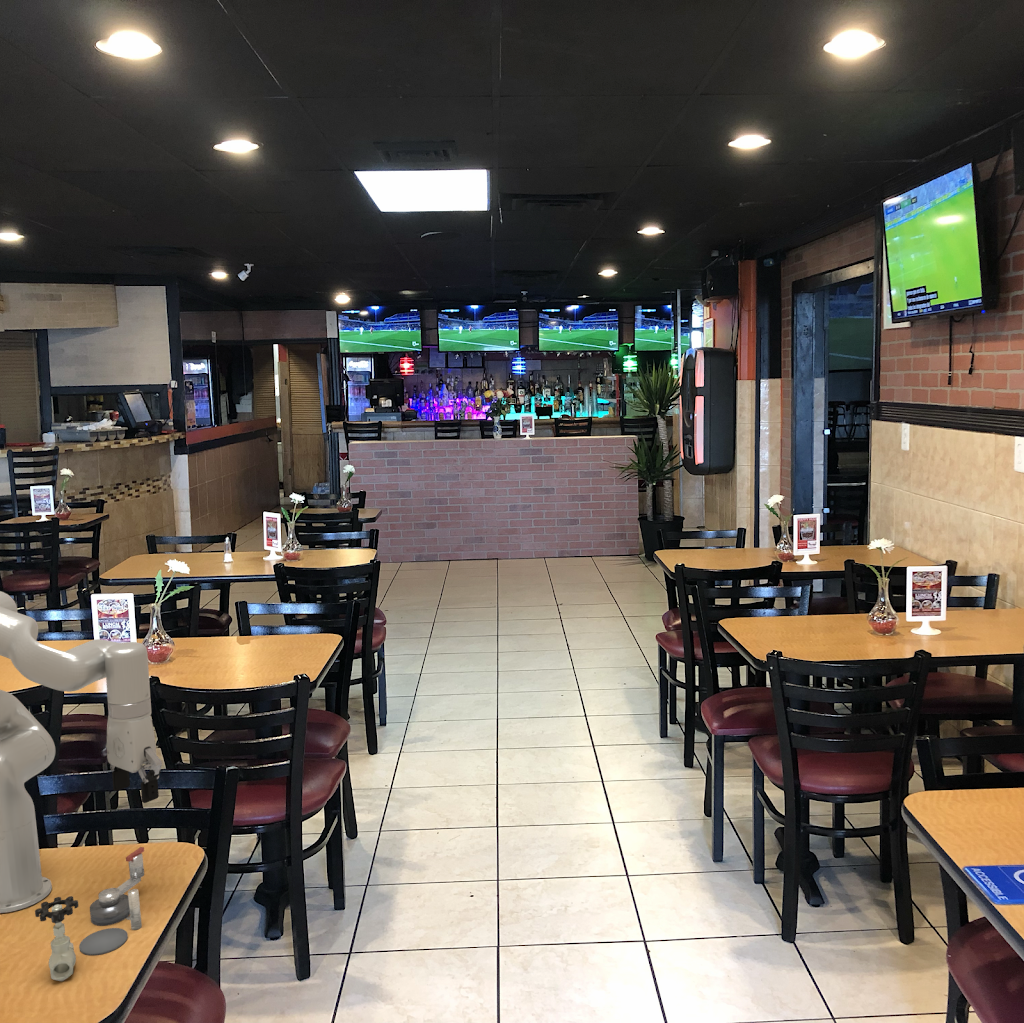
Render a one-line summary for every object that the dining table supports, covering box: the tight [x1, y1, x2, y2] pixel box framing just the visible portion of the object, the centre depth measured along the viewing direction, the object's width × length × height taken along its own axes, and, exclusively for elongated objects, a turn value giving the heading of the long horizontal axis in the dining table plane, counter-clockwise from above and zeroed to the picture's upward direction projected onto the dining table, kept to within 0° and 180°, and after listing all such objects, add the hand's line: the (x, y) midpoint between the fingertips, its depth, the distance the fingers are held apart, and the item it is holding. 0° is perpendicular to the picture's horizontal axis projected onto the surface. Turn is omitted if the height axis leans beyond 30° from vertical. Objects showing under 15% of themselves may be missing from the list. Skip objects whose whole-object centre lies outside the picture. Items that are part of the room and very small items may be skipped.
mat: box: [78, 927, 129, 956], centre depth 167 cm, size 8×8×1 cm
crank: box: [98, 846, 145, 907], centre depth 180 cm, size 12×4×6 cm, turn 164°
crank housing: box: [89, 888, 142, 931], centre depth 175 cm, size 12×7×7 cm, turn 74°
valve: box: [34, 895, 80, 982], centre depth 158 cm, size 7×7×12 cm
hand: (135, 794), depth 179 cm, fingers open, 9 cm apart
